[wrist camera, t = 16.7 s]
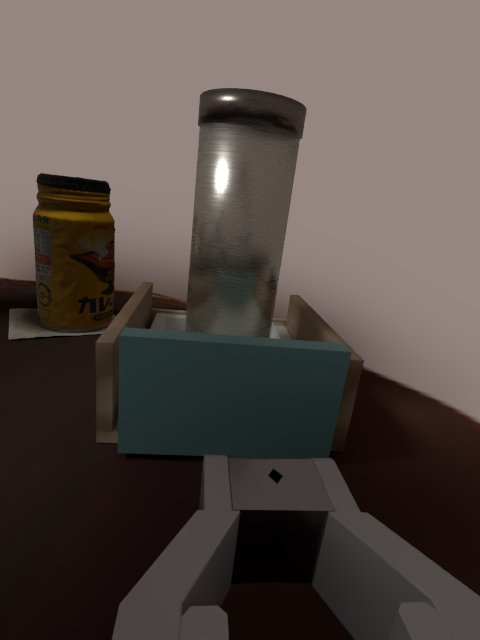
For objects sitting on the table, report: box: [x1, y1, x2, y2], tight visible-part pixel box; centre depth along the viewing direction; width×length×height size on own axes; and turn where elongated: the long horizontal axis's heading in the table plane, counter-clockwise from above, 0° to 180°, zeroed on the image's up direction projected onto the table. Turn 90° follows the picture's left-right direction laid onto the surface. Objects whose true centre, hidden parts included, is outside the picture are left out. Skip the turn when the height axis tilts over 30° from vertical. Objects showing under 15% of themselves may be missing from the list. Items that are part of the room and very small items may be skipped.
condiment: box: [9, 173, 115, 339], centre depth 30 cm, size 7×8×12 cm
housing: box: [96, 282, 364, 452], centre depth 23 cm, size 12×12×5 cm
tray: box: [118, 313, 351, 459], centre depth 22 cm, size 10×13×6 cm
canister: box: [185, 88, 306, 338], centre depth 20 cm, size 5×5×14 cm
